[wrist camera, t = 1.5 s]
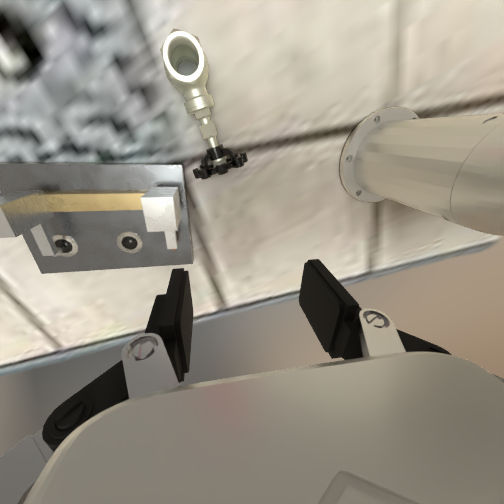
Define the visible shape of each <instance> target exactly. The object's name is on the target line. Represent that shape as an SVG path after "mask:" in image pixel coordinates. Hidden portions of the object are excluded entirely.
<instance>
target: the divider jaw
mask: <svg viewBox="0 0 504 504" xmlns="http://www.w3.org/2000/svg"><path fill="white" fill-rule="evenodd" d="M141 203H142V208H143V213H144V217H145V222H146V227H147V232H158V231H165V237H166V243H167V249H171V250H176V249H177V248H178V240H177V236H176V231H177V230H178V227H179V223H180V220H181V217H182V214H181V206H180V198H179V190H178V187H151V188H150V189H149V190H148V191H147V192H146V193H145V194H144V195H143V196H142V197H141Z"/></svg>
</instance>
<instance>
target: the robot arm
mask: <svg viewBox="0 0 504 504" xmlns="http://www.w3.org/2000/svg"><path fill="white" fill-rule="evenodd" d="M340 177H341V180H342V184H343V186H344V188H345V189H346V191H347V192H348V193H349V194H350V195H351V196H353V197H354V198H356V199H358V200H361V201H364V202H379V201H383V200H385V199H390V200H393V201H395V202H398V203H401V204H404V205H407V206H409V207H412V208H415V209H418V210H420V211H423V212H426V213H429V214H432V215H434V216H437V217H440V218H443V219H445V220H448V221H451V222H454V223H457V224H459V225H462V226H465V227H468V228H471V229H474V230H476V231H480V232H483V233H487V234H493V235H504V113H498V114H484V115H469V116H454V117H440V118H425V119H419V117H418V116H417V115H416V114H415V113H414V112H413V111H411V110H409V109H407V108H403V107H389V108H384V109H381V110H378V111H376V112H374V113H372V114H371V115H369V116H368V117H366V118H365V119H364V120H363V121H362V122H360V123H359V124H358V125H357V127H356V128H355V129H354V130H353V132H352V133H351V135H350V136H349V138H348V140H347V142H346V144H345V146H344V149H343V152H342V156H341V160H340ZM299 303H300V306H301V308H302V310H303V312H304V313H305V315H306V317H307V319H308V321H309V323H310V325H311V326H312V328H313V330H314V332H315V334H316V336H317V337H318V339H319V341H320V343H321V345H322V346H323V349H324V350H325V352H328V353H329V354H330V356H331V358H332V359H333V358H340V357H342V358H343V359H344V360H342V361H336V362H329V363H323V364H316V365H309V366H303V367H296V368H290V369H284V370H277V371H270V372H264V373H258V374H252V375H245V376H239V377H232V378H226V379H220V380H214V381H207V382H202V383H196V384H191V385H185V386H180V385H179V383H180V382H181V381H184V374H185V373H188V372H189V365H190V352H191V338H192V325H193V305H192V297H191V289H190V281H189V273H188V271H184V268H180V269H173V270H172V273H171V277H170V281H169V285H168V289H167V293H166V294H163V295H157V296H156V299H155V302H154V305H153V308H152V311H151V315H150V318H149V321H148V324H147V328H146V331H145V334H141V335H138V336H136V337H134V338H133V339H131V340H130V341H129V342H128V343H127V344H126V345H125V346H124V348H123V351H122V360H121V361H120V362H118V363H117V364H116V365H114V366H113V367H112V368H110V369H109V370H107V371H106V372H105V373H103V374H102V375H100V376H99V377H98V378H96V379H95V380H94V381H92V382H91V383H90V384H88V385H87V386H85V387H84V388H83V389H81V390H80V391H79V392H77V393H76V394H74V395H73V396H72V397H70V398H69V399H67V400H66V401H65V402H63V403H62V404H61V405H60V406H59V407H57V408H56V409H55V410H54V411H53V412H52V414H51V415H50V416H49V417H48V419H47V421H46V423H45V424H44V427H43V429H42V430H41V431H39V432H38V433H37V434H35V435H34V436H33V437H32V435H31V434H30V435H28V436H27V437H26V438H25V439H23V440H22V441H21V442H19V443H18V444H17V445H15V446H14V447H13V448H12V449H10V450H9V451H7V452H6V453H5V454H4V455H2V456H1V457H0V504H504V379H503V378H501V377H499V376H496V375H494V374H491V373H490V372H488V371H487V370H485V369H484V368H482V367H481V366H479V365H477V364H476V363H473V362H471V361H469V360H466V359H463V358H460V357H457V356H453V355H451V354H450V353H449V352H448V351H446V350H445V349H443V348H441V347H439V346H437V345H434V344H432V343H430V342H427V341H425V340H422V339H420V338H417V337H415V336H412V335H410V334H407V333H405V332H402V331H400V330H397V329H396V328H395V326H394V323H393V321H392V320H391V319H390V317H388V316H387V315H386V314H384V313H383V312H381V311H379V310H375V309H369V308H367V309H363V310H362V309H361V308H360V307H359V304H358V303H357V302H356V301H355V300H354V298H353V297H352V296H351V295H350V294H349V293H348V292H347V291H346V289H345V288H344V287H343V286H342V285H341V284H340V283H339V282H338V280H337V279H336V278H335V277H334V276H333V275H332V274H331V273H330V271H329V270H328V269H327V268H326V267H325V266H324V265H323V264H322V262H321V261H320V260H319V259H314V260H308V261H307V262H306V263H305V265H304V270H303V276H302V283H301V289H300V295H299Z"/></svg>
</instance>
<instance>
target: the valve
mask: <svg viewBox="0 0 504 504" xmlns="http://www.w3.org/2000/svg"><path fill="white" fill-rule="evenodd" d="M160 51H161V53H162V56H163V59H164V68H165V72H166V74H167V77H168V79H169V80H170V82H171V83H172V85H173V86H174V87H175V88H177V89H178V90H179V91H181V92H183V93H184V96H185V98H186V101H187V102H185V103H184V105H185V107H186V110H187V113H188V114H189V115H190V114H195V117H196V119H197V120H199V121H200V124H201V126H199V128H200V131H201V133H202V136H203V139H207V141H208V144H209V147H210V148H209V149H207V150H206V151H207V154H205V155H204V156H203V158H202V161H201V164H202V165H200V170H198V168H196V169H194V170H193V173H194V175H195V178H196V179H197V178H202V179H207V178H209V177H211V175H213V174H216V173H218V174H219V175H222V174H225V173H227V172H228V169H231V168H233V167H234V168H238V167H241V166H243V165H244V163H245V162H247V161H248V159H247V155H246V152H243V153H240V155H241V156H238V154H237V153H235V152H234V151H233V150H232V149H231V148H228V147H226V148H223V145H222V144H221V145H218V143H217V140H216V137H215V136H216V135H218V133H217V130H216V127H215V124H214V121H213V122H211V120H210V115H211V112H210V109H209V108H212V107H213V106H214V102H213V98H212V95H211V94H208V93H207V90H206V87H205V85H206V82H207V79H208V74H209V68H208V62H207V59H206V56H205V54H204V52H203V50H202V49H201V45H200V42H199V39H198V37H196V36H194V35H191V34H189V33H186V32H184V31H181V30H178V29H173V30H172V32H171V33H170V34H169V36H168V37H167V39H166V41H165V42H164V44H163V46H162V48H161V49H160ZM185 60H190V61H192V62H194V63H195V64H196V65H197V67H198V69H197V70H196V72H195V73H194V74H192V75H190V76H183V75H180V74H179V73H177V68H178V66H179V64H180V63H181V62H182V61H185ZM225 153H228V154H229V155H230V158H229V159H225V158H227V157H226V154H225ZM208 159H209V160H210V162H211V163H213V164H211V165H208V164H207V160H208Z"/></svg>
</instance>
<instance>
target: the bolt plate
mask: <svg viewBox="0 0 504 504" xmlns="http://www.w3.org/2000/svg"><path fill="white" fill-rule="evenodd" d="M151 187H178V190H179V198H180V206H181V214H182V217H181V220H180V223H179V227H178V230H177V231H176V236H177V240H178V248H177V249H176V250H171V249H167V243H166V237H165V231H158V232H147V227H146V222H145V217H144V213H143V208H142V203H141V197H142V196H143V195H144V194H145V193H146V192H147V191H148V190H149V189H150V188H151ZM0 191H1V193H2V195H1V196H0V238H6V237H17V236H19V235H21V234H22V235H23V237H24V239H25V241H26V243H27V245H28V247H29V249H30V251H31V253H32V255H33V257H34V259H35V261H36V263H37V265H38V267H39V269H40V271H41V273H42V274H44V273H59V272H74V271H90V270H105V269H120V268H135V267H150V266H165V265H181V264H193V252H192V242H191V233H190V224H189V215H188V206H187V197H186V188H185V179H184V169H183V164H154V163H45V162H0Z"/></svg>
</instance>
